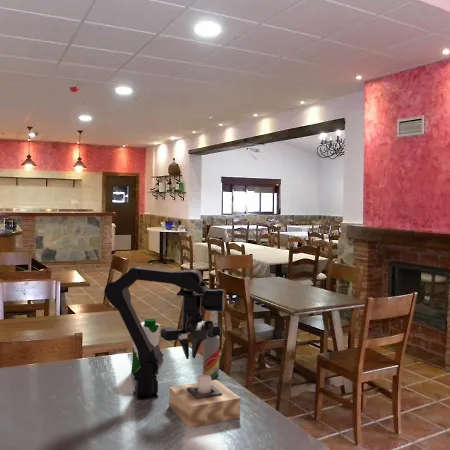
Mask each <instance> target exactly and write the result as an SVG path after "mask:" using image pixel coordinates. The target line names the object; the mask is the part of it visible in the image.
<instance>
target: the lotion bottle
mask: <svg viewBox="0 0 450 450" xmlns="http://www.w3.org/2000/svg"><path fill="white" fill-rule="evenodd" d="M213 323H214V324H216V325H218V324H217V322H213ZM220 337H221V336H220V335H219V336H212V335H211V334H210V333H208V334H207V339H205V340H203V347H202V349H203V352H202V353H203V354H202V375H209V376H211V381H212V380H217V381H218V379H219V374H220V371H219V370H220Z"/></svg>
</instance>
